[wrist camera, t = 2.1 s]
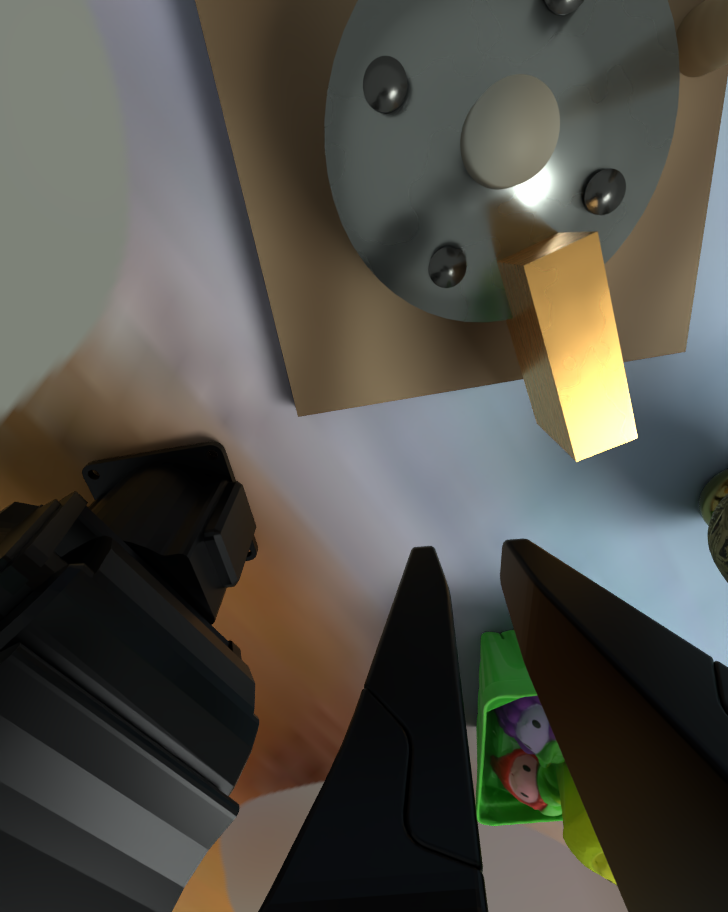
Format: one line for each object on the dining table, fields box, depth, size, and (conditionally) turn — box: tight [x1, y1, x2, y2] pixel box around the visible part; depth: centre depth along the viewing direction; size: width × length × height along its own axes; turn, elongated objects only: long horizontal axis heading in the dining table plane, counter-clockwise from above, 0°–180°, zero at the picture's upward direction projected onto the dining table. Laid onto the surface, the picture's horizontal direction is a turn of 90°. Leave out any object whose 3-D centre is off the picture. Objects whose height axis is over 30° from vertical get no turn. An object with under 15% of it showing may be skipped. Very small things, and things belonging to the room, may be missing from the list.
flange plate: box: [324, 0, 680, 462], centre depth 13 cm, size 14×10×3 cm
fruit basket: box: [476, 630, 617, 885], centre depth 23 cm, size 11×9×11 cm
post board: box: [195, 0, 728, 417], centre depth 14 cm, size 16×15×5 cm
